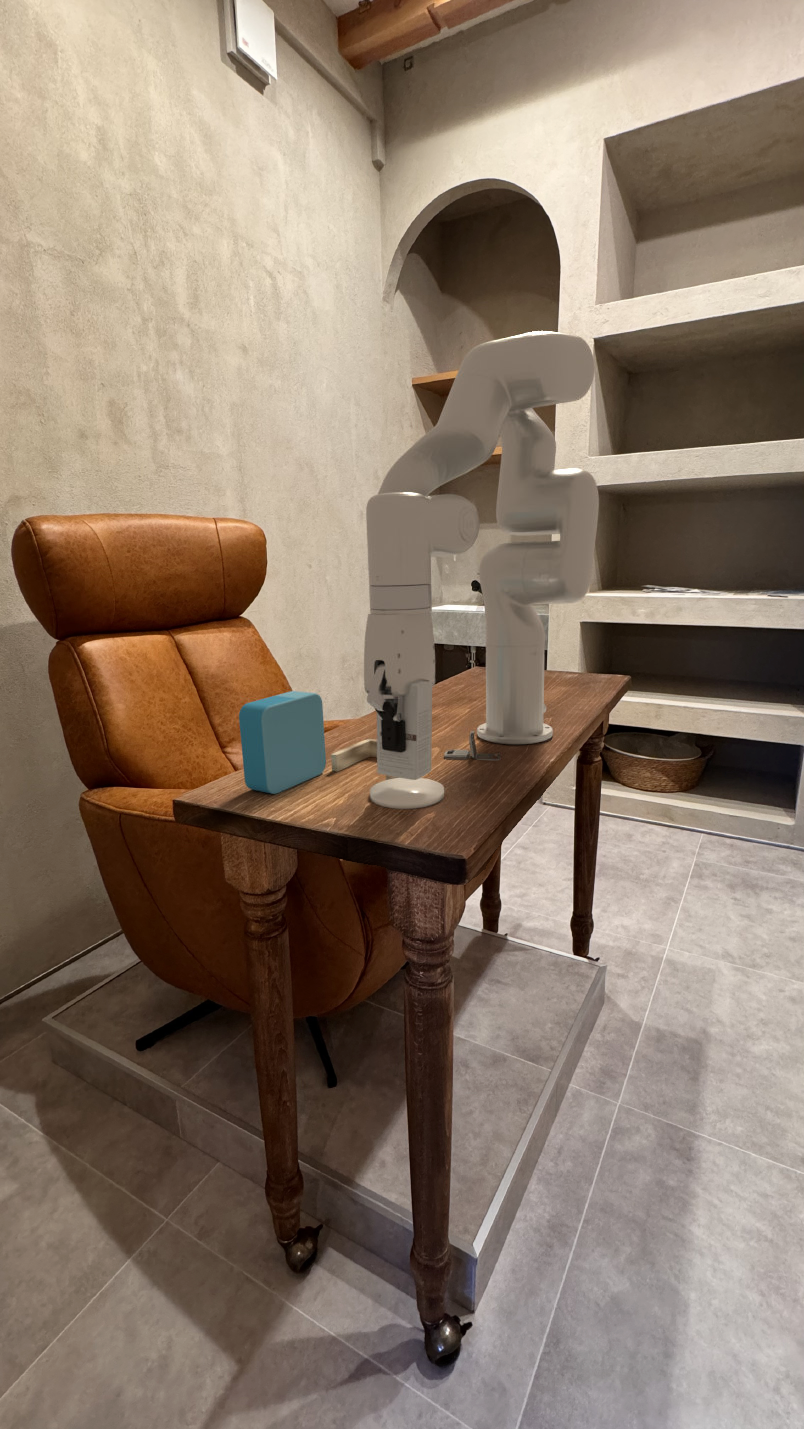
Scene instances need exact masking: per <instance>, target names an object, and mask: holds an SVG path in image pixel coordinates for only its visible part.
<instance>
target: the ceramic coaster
mask: <svg viewBox="0 0 804 1429" xmlns="http://www.w3.org/2000/svg"><path fill="white" fill-rule="evenodd" d="M444 797H445V787H444V785H443V784H442V783H440V782H438V781H436V780H433V779H430V778H423V777H421V778H419V779H417V780H410V779H405V778H394V779H389V780H386V779H385V780H382V781H380V782H377V783H376V784H374V785H373V786H371V787H370V788H369V799H370V800H371V801H372V803H374V804H376V805H378V806H380V807H383V808H390V809H394V810H395V809H396V810H412V809H420V808H424V807H430V806H432V805H435V804H437V803H439V802H441V801H442V800H443V799H444Z"/></svg>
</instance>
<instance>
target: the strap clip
mask: <svg viewBox="0 0 804 1429" xmlns="http://www.w3.org/2000/svg"><path fill="white" fill-rule="evenodd" d="M475 733H476V731H475V730H471V731H470V734H469V737H468V739H469V740H468V742H469V749H457V748H456V749H455V748H454V749H449V750H446V751H445V752H444V755H443V758H444V759H446V760H447V759H448V760H468V759H470V757H471V758H472V759H473V760H478V761H479V760H480V761H500V760H501V753H494V752H492V753H491V752H489V753H488V752H478V753H477V746H476V738H475ZM469 750H470V751H469ZM493 756H497V758H496V757H495V758H494V757H493Z"/></svg>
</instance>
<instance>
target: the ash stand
mask: <svg viewBox="0 0 804 1429" xmlns="http://www.w3.org/2000/svg"><path fill="white" fill-rule="evenodd" d="M330 757H331V758H330V759H331V771H333V772H340V771H342V770H344V769H346V768H349V767H350V766H352V765H356V764H357V763H359V762H361V761H363V760H366V759H367V758H370V757H372V758H373V757H374V758H377V738H375V739H374V738H366V739H364V740H361V741H359V742H356V743H354V744H352V745H350V746H347V747H345V748H343V749H340V750H338V751H335V752H333V753H331V754H330ZM394 778H399V777H394V776H389V775H385V780H389V779H394Z"/></svg>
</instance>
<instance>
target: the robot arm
mask: <svg viewBox="0 0 804 1429" xmlns="http://www.w3.org/2000/svg"><path fill="white" fill-rule="evenodd" d="M594 375H595V359H594V355H593V352H592V349H591V346H590V345H589V344H588V343H587V341H586V340H585V339H584V338H582V337H581V336H579V335H574V334H568V333H563V332H556V331H546V330H545V331H543V330H541V331H539V330H538V331H532V332H525V333H522V334H517V335H514V336H513V335H512V336H508V337H505V338H499V339H495V340H490V341H487V342H483V343H480V344H478V345H476V346H474V347H473V348H472V349H470V350H469V351H468V352H467V353H466V355H465V356H464V357H463V360H462V361H461V363H460V366H459V368H458V371H457V373H456V376H455V378H454V380H453V383H452V386H451V388H450V391H449V394H448V396H447V398H446V400H445V402H444V405H443V408H442V411H441V413H440V416H439V419H438V420H437V423H436V425H435V426H433V427H432V428H431V429H430V430H429V431H428V432H427V433H425V434H424V435H423V436H422V437H420V438H419V439H418V440H417V441H416V442H415V443H414V444H412V446H411V447H410V448H409V449H408V450H406V452H404V453H403V454H402V455H401V456H400V457H399V458H398V459H397V460H396V461H395V463H394V464H393V465H392V466H390V467H391V468H390V469H389V470H388V472H387V473H386V475H385V477H384V479H383V480H382V483H381V486H380V488H379V490H378V493H377V494H375V495H373V496H371V497H370V498H369V499H368V501H367V503H366V508H365V509H366V510H365V511H366V513H365V517H366V518H365V519H366V520H365V521H366V539H367V540H366V541H367V545H366V546H367V563H368V564H367V565H368V567H367V568H368V591H369V592H368V593H369V596H368V597H369V612H370V613H369V614H368V615H367V620H366V624H365V631H364V632H365V634H364V648H363V654H364V655H363V681H364V682H363V683H364V691H365V693H366V694H367V697H366V702H367V703H368V704H369V705H370V706H371V707H372V708H374V710H375V712H376V714H377V713H378V718H379V719H380V720H381V732H382V748H383V749H384V750H387V751H394V752H401V753H402V752H404V751H405V750H406V734H405V720H401V719H402V710H403V699H404V695H407V694H408V693H409V692H410V686H411V685H412V684H414V683H417V682H420V681H424V680H431V681H432V688H433V687H434V685H435V684H436V651H435V638H434V637H435V636H434V629H433V620H432V613H431V612H433V610H432V609H433V606H432V605H433V604H432V598H433V597H432V561H431V558H432V557H433V558H435V557H436V558H437V557H452V556H454V557H455V556H458V555H461V554H464V553H465V552H467V551H468V550H470V548H472V546H474V544H475V542H476V541H477V540H478V539H477V538H478V537H479V533H480V525H481V524H480V517H479V513H478V511H477V509H476V507H475V505H473V503H472V502H471V501H470V500H468V499H467V498H465V497H464V496H462V495H458V494H453V493H445V494H444V493H443V494H433V495H430V494H431V493H432V492H433V491H435V490H436V489H437V488H439V487H440V486H443V485H445V484H446V483H448V482H450V481H452V480H454V479H457V478H459V477H461V476H463V475H465V474H467V473H469V472H471V471H472V470H474V469H476V468H478V467H479V466H481V465H482V464H484V463H486V462H487V461H488V460H489V459H490V458H491V457H492V456H493V454H494V452H495V450H496V447H497V444H498V443H499V442H498V441H499V440H500V442H501V457H500V458H501V459H500V467H499V468H500V470H499V475H498V479H499V480H498V487H497V496H496V498H497V499H496V508H495V513H496V514H495V518H496V522H497V526H498V528H499V529H500V530H501V532H504V533H505V534H507V535H512V536H543V535H544V536H545V535H546V536H547V535H559V540H545V541H544V540H543V541H542V540H541V541H536V540H535V541H516V542H515V541H512V542H504V543H500V544H497V545H495V546H493V547H491V548H489V549H488V550H487V551H486V552H485V553H484V554H483V555H482V558H481V560H480V563H479V567H478V568H479V569H478V571H479V572H478V575H479V576H478V577H479V583H480V584H479V585H480V589H481V594H482V599H483V605H484V617H485V706H486V707H485V718H486V720H485V722H484V723H481V724H480V725H479V726H477V728H476V735H477V736H478V737H479V738H480V739H482V740H484V741H486V742H490V743H496V744H503V745H504V744H505V745H527V744H528V745H529V744H536V743H540V742H541V743H542V742H546V741H547V740H550V739H551V738H552V737H553V734H554V733H553V732H554V730H553V727H552V726H550V725H549V724H546V723H544V713H546V711H547V705H546V704H545V702H544V699H545V696H544V693H545V642H546V636H545V635H546V632H545V626H544V625H543V622H542V619H541V618H540V616H539V615H538V614H537V612H536V610H535V609H534V606H532V605H536V604H543V605H546V604H550V605H551V604H552V605H554V604H560V605H561V604H564V605H565V604H567V605H568V604H574V603H577V602H580V601H581V600H583V599H584V598H585V596H586V595H587V593H588V591H589V588H590V585H591V579H592V574H593V573H592V572H593V565H594V564H593V563H594V555H595V547H596V538H597V531H598V530H597V529H598V522H599V508H600V507H599V506H600V498H599V489H598V485H597V482H596V479H595V478H594V476H593V475H592V474H591V473H590V472H589V471H587V470H585V469H582V468H564V469H563V468H562V469H555V467H556V466H555V464H556V453H557V442H556V438H555V436H554V434H553V432H552V430H551V429H550V428H549V426H548V425H547V424H546V423H545V422H544V420H542V418H541V417H540V416H539V415H538V414H537V413H536V411H535V410H534V408H540V407H546V406H553V405H558V404H559V405H560V404H564V403H565V404H566V403H567V404H568V403H572V402H576V401H577V402H578V401H579V400H581V399H583V398H584V397H585V396H586V395H587V394H588V392H589V391H590V389H591V386H592V384H593V381H594ZM388 689H390V690H391V691H390V692H391V693H392V694H388ZM388 699H391V700H395V701H394V707H393V706H392V705H391V703H390V702H388Z"/></svg>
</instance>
